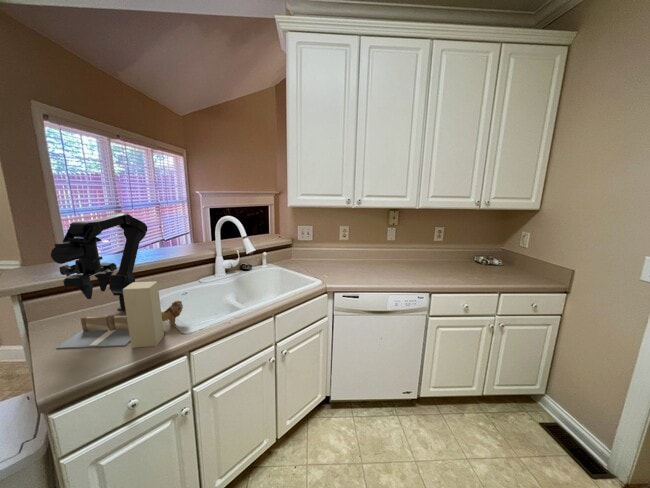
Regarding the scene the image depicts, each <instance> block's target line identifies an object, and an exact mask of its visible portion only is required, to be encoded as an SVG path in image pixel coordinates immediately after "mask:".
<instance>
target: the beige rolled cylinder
mask: <svg viewBox="0 0 650 488" xmlns="http://www.w3.org/2000/svg"><path fill="white" fill-rule="evenodd" d="M107 316H108V315H107ZM107 316H106V315H105V316H83V317H80V324H81V328H82V330H83V331H87V330H108V329H109V324H108V319H107Z"/></svg>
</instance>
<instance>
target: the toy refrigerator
mask: <svg viewBox="0 0 650 488" xmlns="http://www.w3.org/2000/svg"><path fill="white" fill-rule="evenodd" d="M159 291H160V290H159V283H158V281H155V280H154V281H135V282H133V283H131V284H130V285H128V286H127V287H125V288H124V289H123V296H124V302H125V309H126V310H125V314H126V315H125V316H127V322H128V328H129V335H130V347H131V348H133V349H134V348H136V349H137V348H146V347H147V348H149V347H156V346H158V344H159V343H160V342H161V340H162V339H163V338H164V337H165V334H164V333H165V331H164V323H163V322H164V321H162V314H161V312H162V309H161V300H160V292H159Z"/></svg>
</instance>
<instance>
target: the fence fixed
mask: <svg viewBox="0 0 650 488" xmlns="http://www.w3.org/2000/svg"><path fill="white" fill-rule="evenodd" d="M107 319H108V324H109V329H110V331H113V330H129V328H128V322H127V315H115V314H110V315H107Z"/></svg>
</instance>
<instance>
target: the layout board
mask: <svg viewBox="0 0 650 488" xmlns="http://www.w3.org/2000/svg"><path fill="white" fill-rule="evenodd" d="M129 343H131V341H130V335H129V330H113V331H110V329H108V330H87V331H83V329H81V331H79V332H78V333H76V334H75V335H73V336H72V337H70V338H68V339H67V340H66V341H64V342H63V343H62V344H60V345H58V346H57V347H56V350H58V349H81V348H82V349H83V348H84V349H85V348H87V349H88V348H108V347H126V346H127V345H128V344H129Z"/></svg>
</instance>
